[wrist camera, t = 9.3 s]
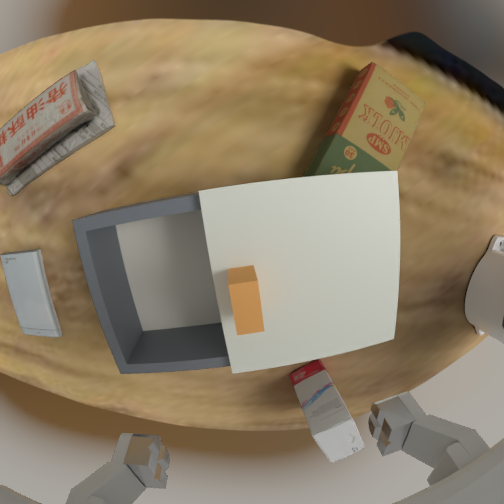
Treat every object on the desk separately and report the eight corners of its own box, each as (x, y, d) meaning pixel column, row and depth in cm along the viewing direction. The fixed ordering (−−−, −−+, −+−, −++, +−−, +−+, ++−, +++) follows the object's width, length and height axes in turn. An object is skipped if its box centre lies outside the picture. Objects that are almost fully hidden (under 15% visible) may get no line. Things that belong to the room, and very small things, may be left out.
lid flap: (392, 170, 22) (420, 171, 18) (390, 335, 27) (410, 356, 22) (199, 190, 22) (192, 193, 17) (232, 368, 26) (233, 398, 22)
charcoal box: (247, 184, 30) (254, 186, 22) (265, 320, 34) (275, 359, 26) (106, 209, 29) (72, 220, 21) (139, 335, 33) (120, 373, 25)
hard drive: (-1, 255, 28) (21, 334, 31) (36, 250, 28) (59, 338, 31) (5, 252, 29) (27, 329, 32) (42, 247, 30) (64, 332, 33)
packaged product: (-7, 201, 23) (-21, 134, 20) (15, 197, 28) (1, 136, 25) (102, 120, 23) (82, 48, 20) (119, 127, 27) (98, 62, 25)
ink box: (287, 372, 36) (307, 436, 25) (321, 356, 36) (352, 416, 25) (309, 407, 38) (329, 465, 27) (339, 393, 38) (366, 448, 27)
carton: (408, 109, 29) (428, 103, 25) (359, 215, 32) (376, 221, 28) (357, 70, 27) (373, 59, 23) (300, 179, 30) (311, 180, 26)
